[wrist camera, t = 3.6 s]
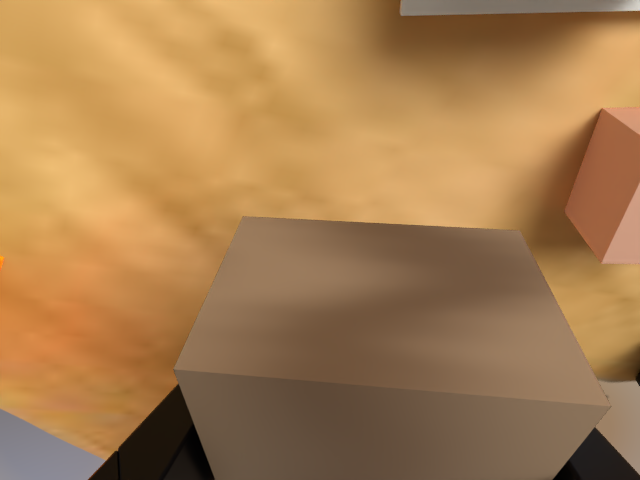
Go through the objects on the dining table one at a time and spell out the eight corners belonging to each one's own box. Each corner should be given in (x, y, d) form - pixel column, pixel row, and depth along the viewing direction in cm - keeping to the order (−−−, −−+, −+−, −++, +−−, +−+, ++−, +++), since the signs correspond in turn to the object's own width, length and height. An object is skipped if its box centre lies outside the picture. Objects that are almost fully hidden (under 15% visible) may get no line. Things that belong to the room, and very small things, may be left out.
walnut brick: (519, 230, 8) (611, 406, 5) (460, 391, 12) (493, 552, 9) (243, 216, 9) (173, 369, 6) (266, 374, 13) (231, 522, 9)
